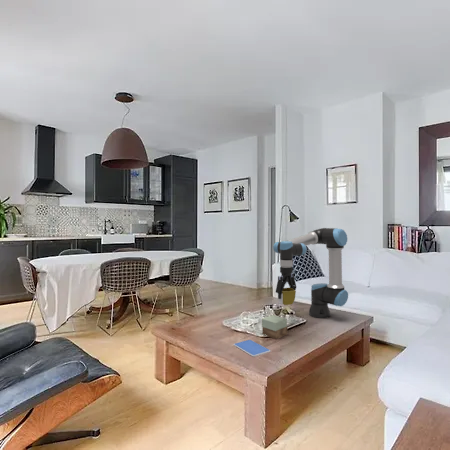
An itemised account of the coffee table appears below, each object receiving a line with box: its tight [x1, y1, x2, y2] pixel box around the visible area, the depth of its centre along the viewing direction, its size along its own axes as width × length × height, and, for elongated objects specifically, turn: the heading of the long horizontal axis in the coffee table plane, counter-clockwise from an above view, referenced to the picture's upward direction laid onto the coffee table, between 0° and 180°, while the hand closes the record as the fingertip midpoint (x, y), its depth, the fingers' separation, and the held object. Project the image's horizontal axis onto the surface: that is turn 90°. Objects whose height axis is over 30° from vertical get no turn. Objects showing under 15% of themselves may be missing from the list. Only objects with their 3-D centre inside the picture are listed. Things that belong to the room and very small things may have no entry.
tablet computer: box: [233, 339, 271, 358], centre depth 182 cm, size 19×13×1 cm, turn 33°
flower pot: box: [282, 287, 297, 306], centre depth 199 cm, size 9×9×9 cm
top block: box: [261, 314, 288, 331], centre depth 203 cm, size 11×11×5 cm
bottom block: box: [262, 326, 288, 340], centre depth 203 cm, size 11×11×5 cm
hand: (286, 302), depth 199 cm, fingers closed on flower pot, 11 cm apart
